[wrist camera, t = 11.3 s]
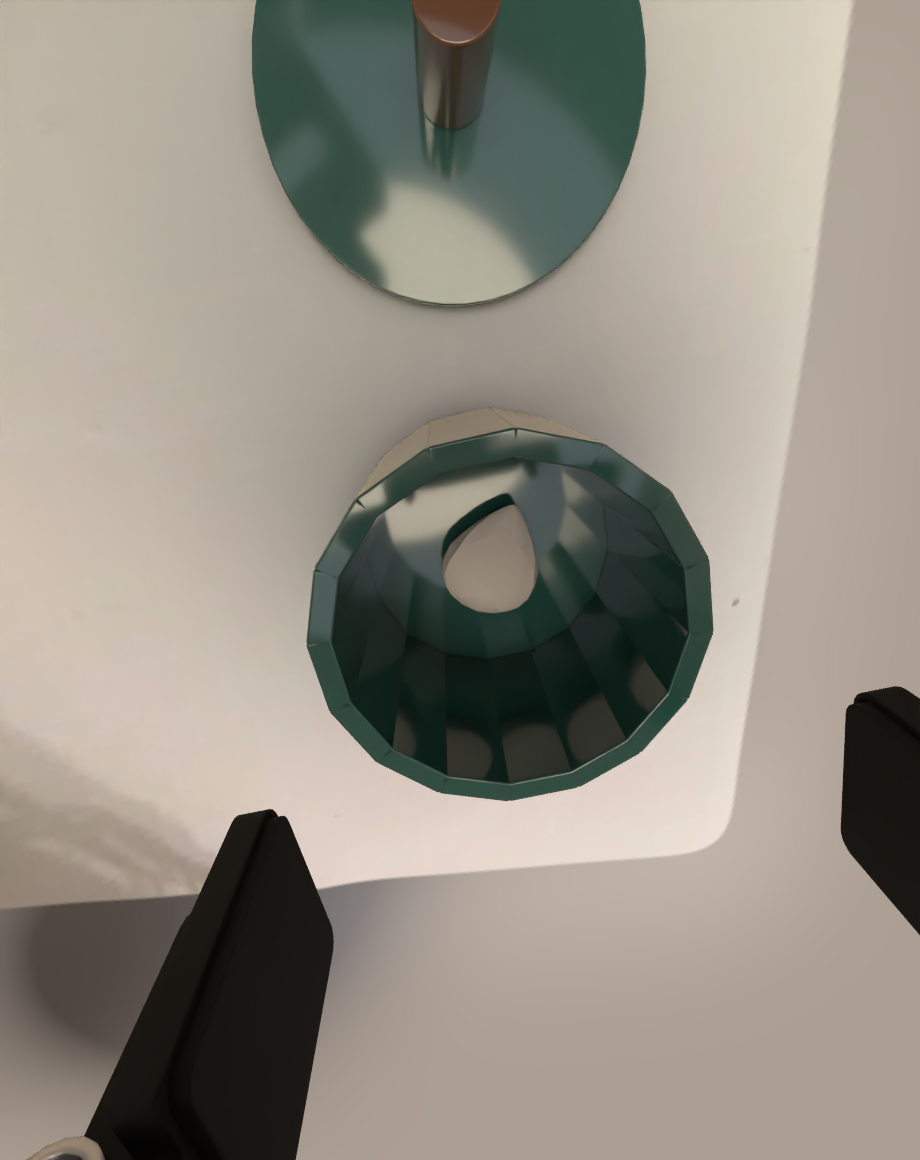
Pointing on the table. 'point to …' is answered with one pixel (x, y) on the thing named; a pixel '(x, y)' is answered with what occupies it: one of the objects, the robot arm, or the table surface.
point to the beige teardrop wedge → (492, 563)
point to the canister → (517, 637)
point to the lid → (450, 132)
